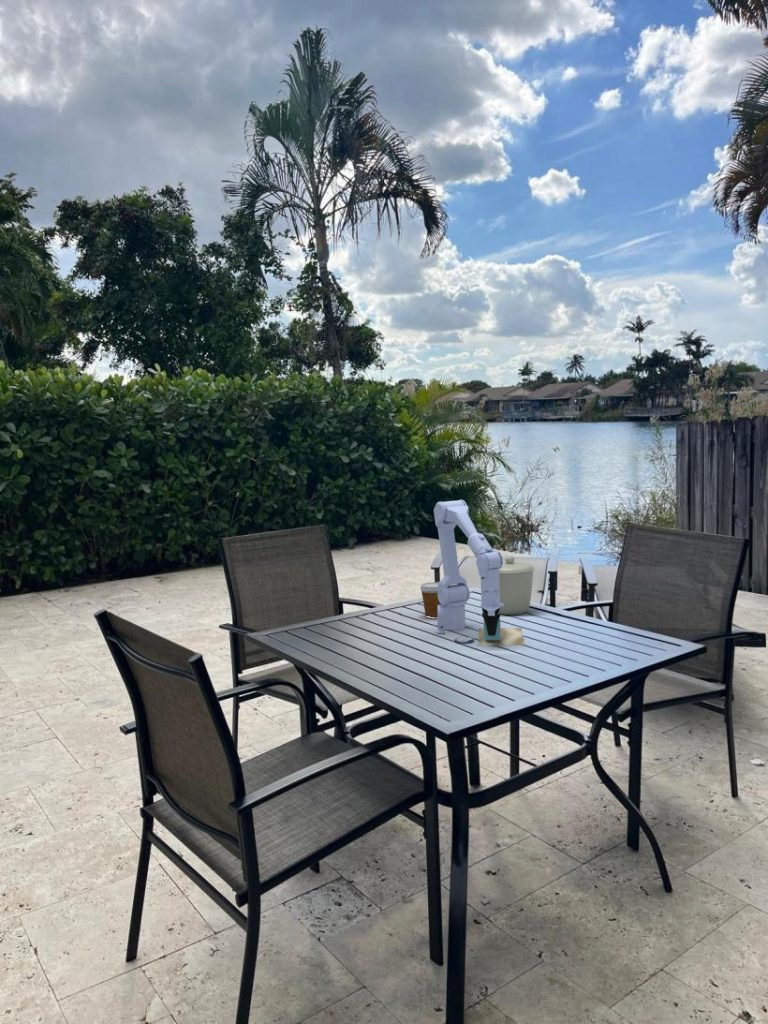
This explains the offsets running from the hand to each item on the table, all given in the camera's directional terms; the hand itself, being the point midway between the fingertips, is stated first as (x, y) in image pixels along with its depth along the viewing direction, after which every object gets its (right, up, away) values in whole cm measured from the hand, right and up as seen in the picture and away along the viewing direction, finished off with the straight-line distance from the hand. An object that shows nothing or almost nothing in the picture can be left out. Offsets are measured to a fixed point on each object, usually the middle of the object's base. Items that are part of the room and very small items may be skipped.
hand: (491, 632), depth 228 cm
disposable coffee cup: (-15, -1, +38) cm, 41 cm away
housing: (0, -2, 0) cm, 2 cm away
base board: (+4, -3, +5) cm, 7 cm away
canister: (+13, +1, +41) cm, 43 cm away
